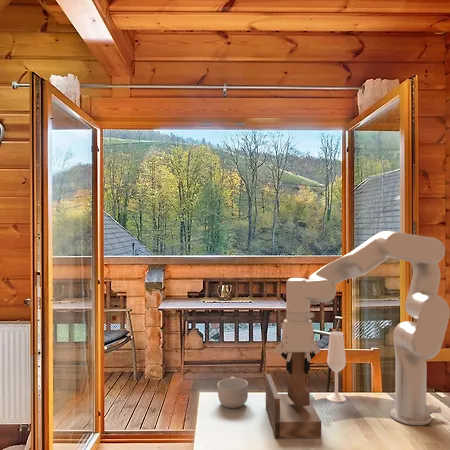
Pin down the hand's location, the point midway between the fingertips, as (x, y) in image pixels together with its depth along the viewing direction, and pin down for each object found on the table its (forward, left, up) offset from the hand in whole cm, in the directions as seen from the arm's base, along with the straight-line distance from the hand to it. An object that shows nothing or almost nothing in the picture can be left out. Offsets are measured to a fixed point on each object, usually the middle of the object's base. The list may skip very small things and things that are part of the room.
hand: (297, 372), depth 149 cm
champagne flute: (-18, -19, -16) cm, 31 cm away
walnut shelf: (+2, 0, -16) cm, 16 cm away
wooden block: (0, 0, -10) cm, 10 cm away
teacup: (+20, -16, -16) cm, 31 cm away
